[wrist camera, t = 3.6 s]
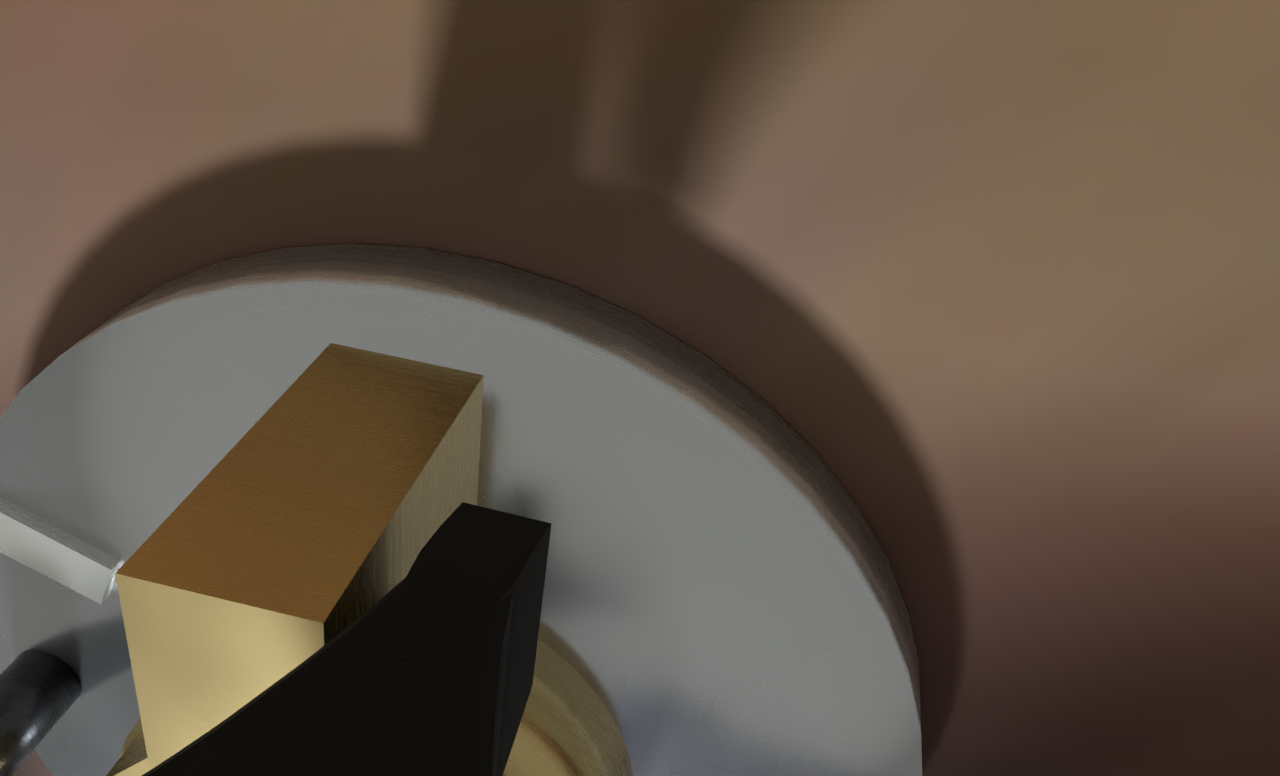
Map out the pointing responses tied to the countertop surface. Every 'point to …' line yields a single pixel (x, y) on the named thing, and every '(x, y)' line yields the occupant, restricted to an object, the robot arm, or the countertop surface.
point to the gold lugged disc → (322, 558)
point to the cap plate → (508, 481)
